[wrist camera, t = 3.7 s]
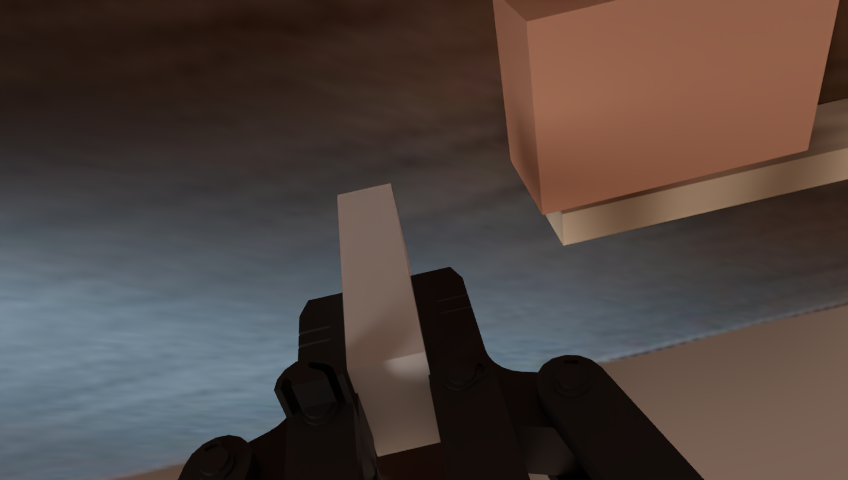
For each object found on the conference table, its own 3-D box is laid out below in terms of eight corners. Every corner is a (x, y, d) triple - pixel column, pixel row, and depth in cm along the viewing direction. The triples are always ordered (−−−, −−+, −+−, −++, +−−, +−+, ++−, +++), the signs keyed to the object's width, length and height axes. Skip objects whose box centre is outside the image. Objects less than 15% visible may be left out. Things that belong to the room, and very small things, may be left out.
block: (509, 158, 26) (542, 215, 22) (489, -14, 22) (526, 21, 18) (737, 102, 26) (807, 150, 22) (760, -78, 22) (851, -56, 18)
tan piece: (536, 199, 27) (566, 250, 24) (515, -92, 20) (552, -74, 17) (927, 109, 27) (1006, 146, 24) (1034, -205, 21) (1161, -208, 18)
